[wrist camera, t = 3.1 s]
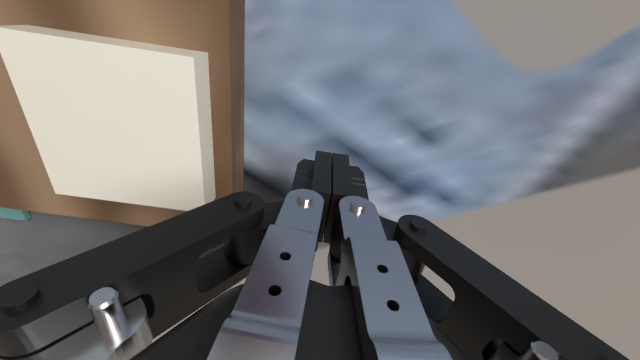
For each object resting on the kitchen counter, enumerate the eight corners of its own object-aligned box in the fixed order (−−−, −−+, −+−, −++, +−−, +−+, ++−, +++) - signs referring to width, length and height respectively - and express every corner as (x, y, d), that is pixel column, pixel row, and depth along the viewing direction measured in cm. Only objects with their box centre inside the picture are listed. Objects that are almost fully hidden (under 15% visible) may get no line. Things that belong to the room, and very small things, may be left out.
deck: (15, 183, 20) (-23, 204, 18) (-106, -76, 13) (-192, -93, 11) (243, 214, 21) (233, 237, 19) (244, -18, 14) (228, -24, 12)
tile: (78, 178, 17) (55, 193, 15) (26, 24, 13) (-11, 26, 11) (215, 197, 17) (205, 213, 16) (208, 52, 13) (193, 57, 12)
